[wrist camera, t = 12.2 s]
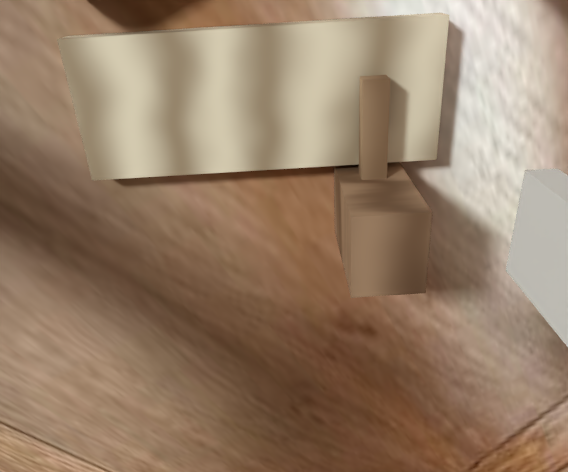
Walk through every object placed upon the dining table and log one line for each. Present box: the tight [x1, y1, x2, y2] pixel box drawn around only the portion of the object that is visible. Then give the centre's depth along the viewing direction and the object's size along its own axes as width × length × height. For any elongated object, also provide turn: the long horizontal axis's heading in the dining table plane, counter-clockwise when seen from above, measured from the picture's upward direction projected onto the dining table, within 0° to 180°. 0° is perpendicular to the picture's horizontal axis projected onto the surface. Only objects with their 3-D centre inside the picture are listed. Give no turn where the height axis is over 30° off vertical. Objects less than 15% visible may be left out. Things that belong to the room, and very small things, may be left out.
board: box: [57, 13, 449, 180], centre depth 37 cm, size 26×10×2 cm, turn 93°
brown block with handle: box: [334, 75, 432, 298], centre depth 35 cm, size 5×13×10 cm, turn 3°
